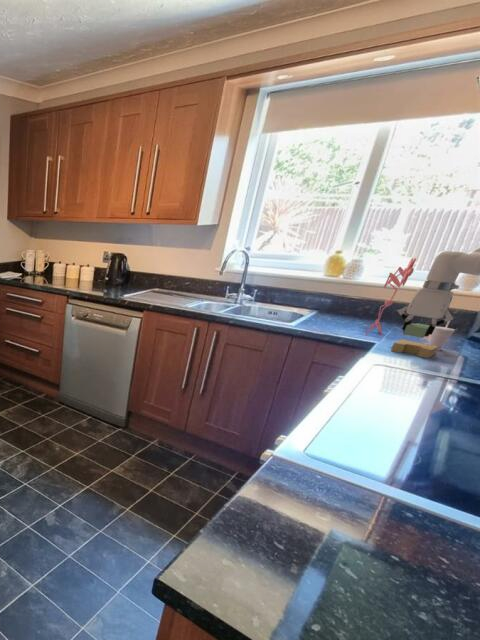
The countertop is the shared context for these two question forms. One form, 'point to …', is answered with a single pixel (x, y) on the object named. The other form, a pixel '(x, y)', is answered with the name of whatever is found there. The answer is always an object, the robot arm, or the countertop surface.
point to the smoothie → (440, 336)
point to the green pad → (416, 330)
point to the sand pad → (414, 348)
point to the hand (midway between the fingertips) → (415, 333)
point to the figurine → (404, 274)
